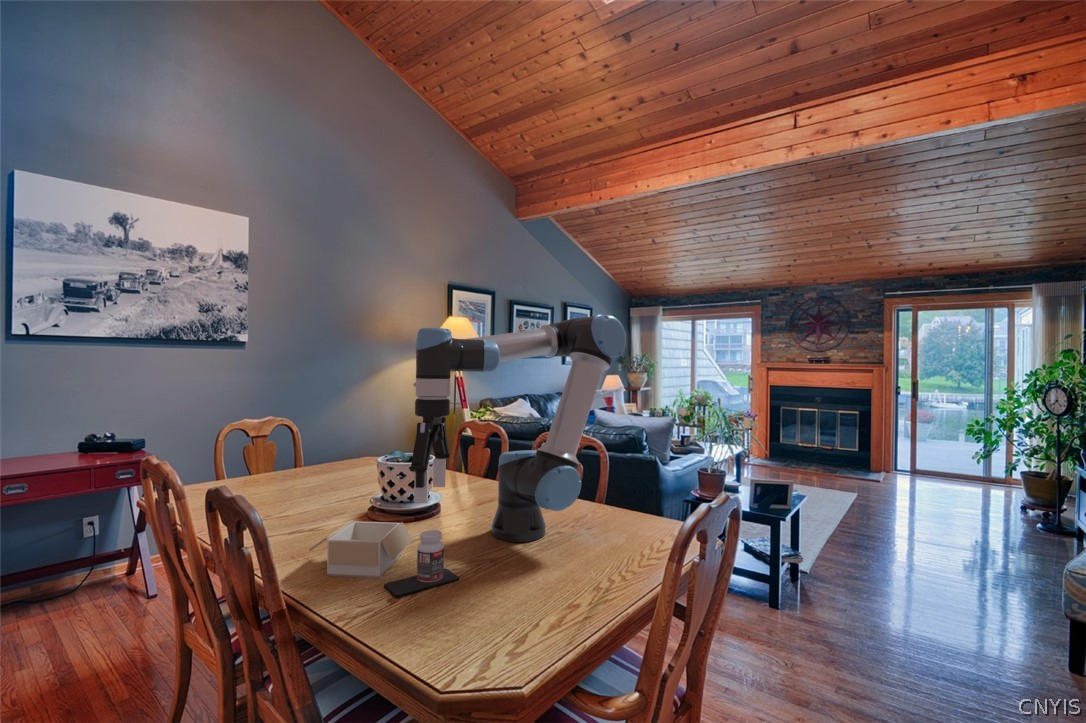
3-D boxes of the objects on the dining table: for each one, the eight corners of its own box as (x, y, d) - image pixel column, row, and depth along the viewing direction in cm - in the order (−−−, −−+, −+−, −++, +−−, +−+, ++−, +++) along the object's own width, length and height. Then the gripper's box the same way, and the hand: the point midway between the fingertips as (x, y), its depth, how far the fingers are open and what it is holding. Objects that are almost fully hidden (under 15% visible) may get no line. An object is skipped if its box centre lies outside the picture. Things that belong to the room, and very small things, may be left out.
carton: (401, 554, 121) (401, 522, 121) (379, 579, 108) (379, 542, 108) (354, 552, 122) (354, 520, 122) (326, 576, 108) (326, 540, 108)
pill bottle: (436, 585, 105) (437, 539, 105) (412, 582, 106) (412, 536, 106) (447, 574, 110) (448, 530, 111) (423, 572, 112) (424, 528, 112)
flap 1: (352, 519, 122) (336, 530, 122) (326, 537, 109) (308, 549, 109) (353, 521, 122) (337, 532, 122) (327, 538, 109) (310, 551, 109)
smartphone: (461, 578, 108) (395, 596, 98) (461, 582, 108) (395, 601, 98) (445, 567, 114) (382, 583, 104) (445, 571, 114) (381, 587, 104)
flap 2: (400, 522, 121) (410, 540, 121) (380, 540, 108) (391, 560, 108) (402, 521, 121) (412, 539, 120) (382, 539, 108) (393, 559, 108)
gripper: (432, 394, 121) (430, 480, 121) (395, 401, 96) (393, 509, 96) (462, 395, 121) (460, 481, 120) (433, 402, 96) (430, 511, 96)
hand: (430, 494), depth 108 cm, fingers open, 13 cm apart
